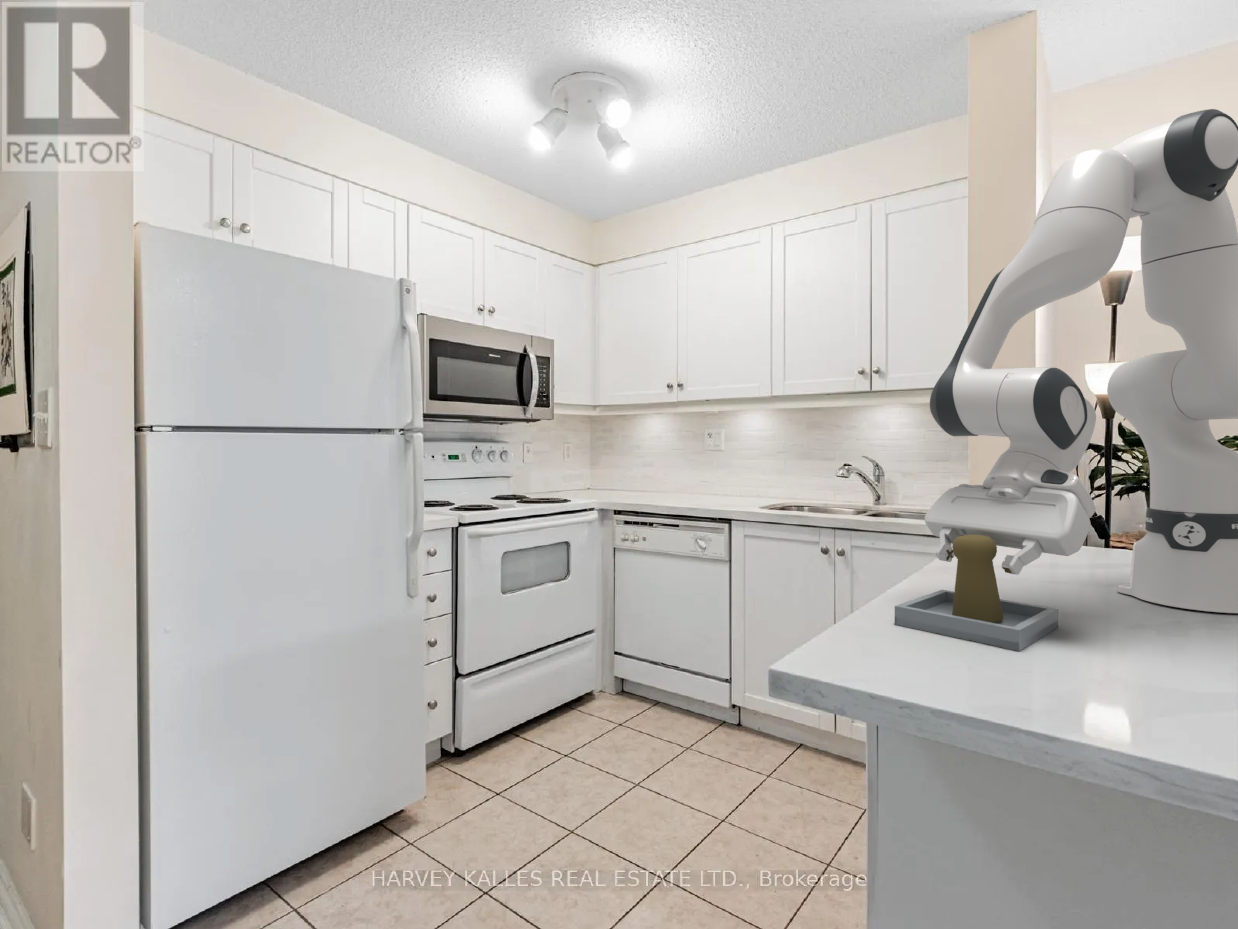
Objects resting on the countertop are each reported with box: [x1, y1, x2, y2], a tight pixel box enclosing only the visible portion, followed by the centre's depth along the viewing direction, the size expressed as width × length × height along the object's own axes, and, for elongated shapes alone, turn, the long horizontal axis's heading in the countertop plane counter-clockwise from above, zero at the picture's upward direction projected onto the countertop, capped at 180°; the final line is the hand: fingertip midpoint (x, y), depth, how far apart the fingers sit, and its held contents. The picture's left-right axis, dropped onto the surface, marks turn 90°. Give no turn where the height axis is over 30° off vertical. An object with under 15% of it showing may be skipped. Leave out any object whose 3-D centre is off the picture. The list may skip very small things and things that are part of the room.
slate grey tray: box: [894, 589, 1060, 652], centre depth 87 cm, size 15×15×2 cm
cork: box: [952, 534, 1003, 623], centre depth 87 cm, size 6×6×11 cm
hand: (974, 564), depth 86 cm, fingers open, 8 cm apart
